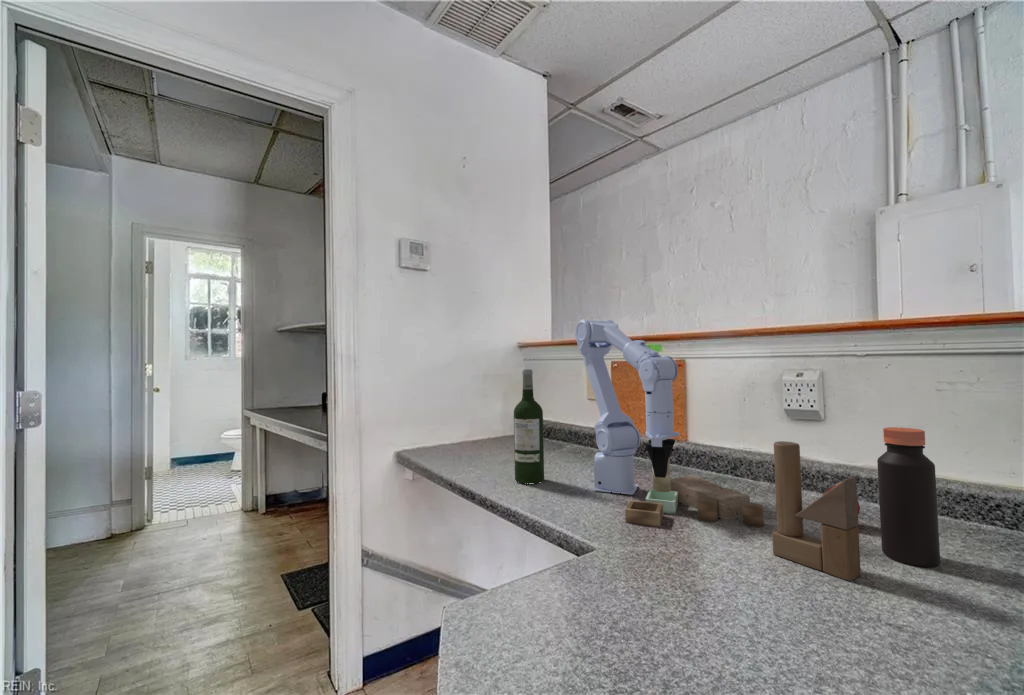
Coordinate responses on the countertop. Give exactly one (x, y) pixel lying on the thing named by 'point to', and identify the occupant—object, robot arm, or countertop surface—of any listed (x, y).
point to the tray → (664, 500)
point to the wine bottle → (528, 435)
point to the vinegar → (908, 499)
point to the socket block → (644, 513)
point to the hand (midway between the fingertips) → (661, 474)
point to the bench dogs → (750, 512)
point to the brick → (709, 495)
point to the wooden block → (815, 519)
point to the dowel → (662, 481)
